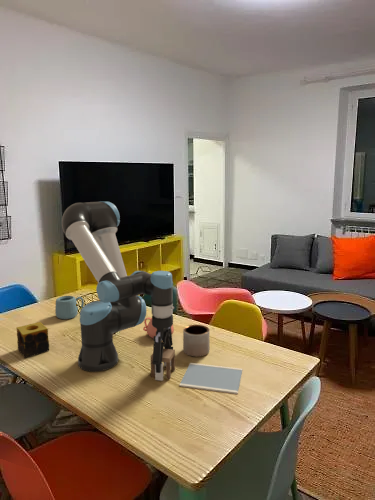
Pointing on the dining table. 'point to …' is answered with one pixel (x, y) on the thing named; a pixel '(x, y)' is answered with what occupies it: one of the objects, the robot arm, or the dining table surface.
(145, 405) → the dining table surface
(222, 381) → the rug
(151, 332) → the sugar bowl
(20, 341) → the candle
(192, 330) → the planter
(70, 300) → the mug
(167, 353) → the stool
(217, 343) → the dining table surface
